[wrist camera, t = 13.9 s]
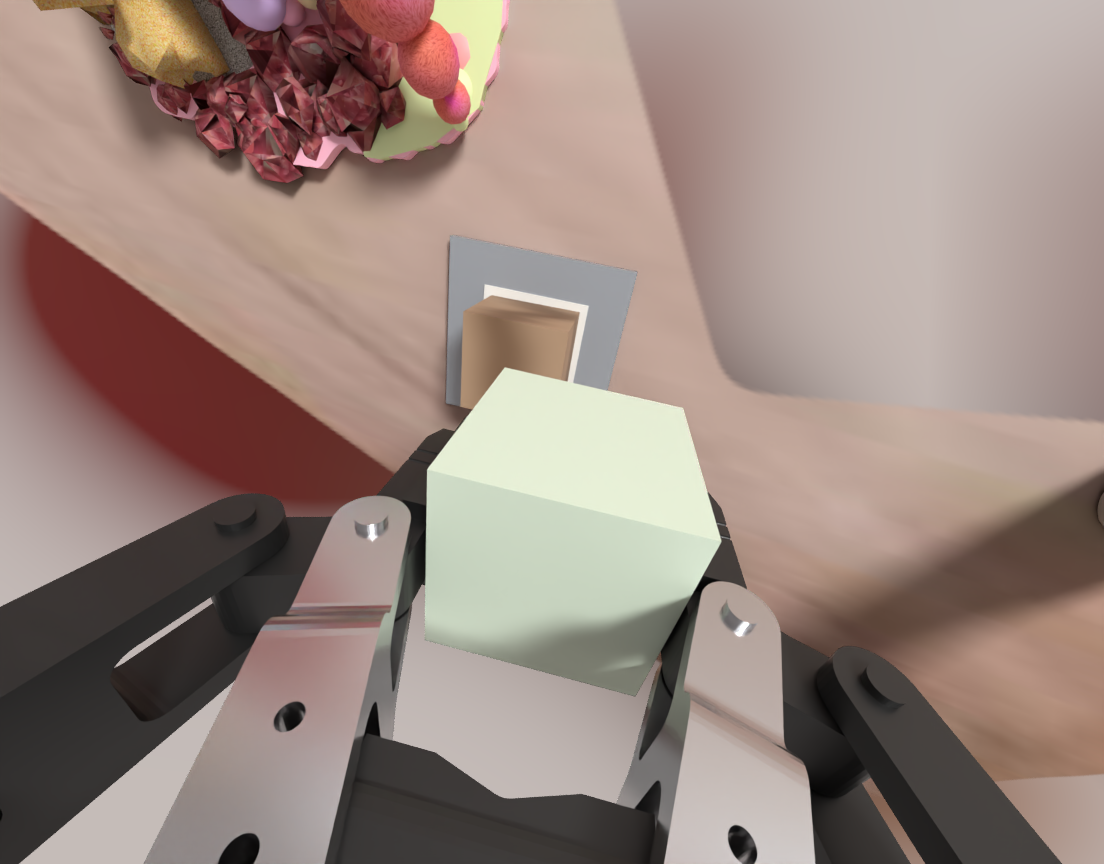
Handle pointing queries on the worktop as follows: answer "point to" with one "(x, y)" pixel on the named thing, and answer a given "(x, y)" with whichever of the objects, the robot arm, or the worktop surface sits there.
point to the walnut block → (513, 343)
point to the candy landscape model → (310, 72)
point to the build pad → (540, 301)
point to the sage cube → (565, 530)
